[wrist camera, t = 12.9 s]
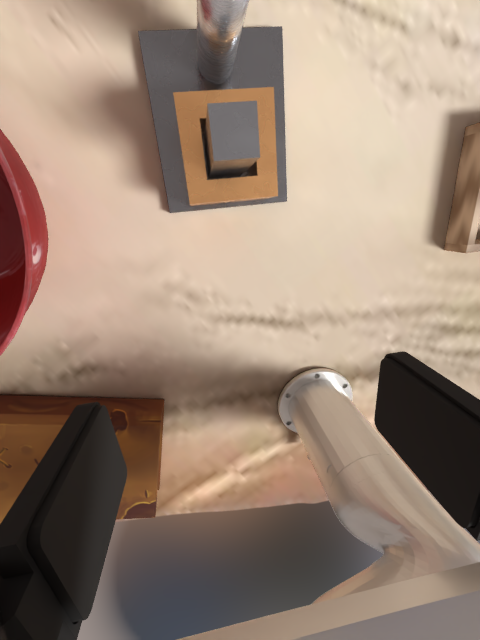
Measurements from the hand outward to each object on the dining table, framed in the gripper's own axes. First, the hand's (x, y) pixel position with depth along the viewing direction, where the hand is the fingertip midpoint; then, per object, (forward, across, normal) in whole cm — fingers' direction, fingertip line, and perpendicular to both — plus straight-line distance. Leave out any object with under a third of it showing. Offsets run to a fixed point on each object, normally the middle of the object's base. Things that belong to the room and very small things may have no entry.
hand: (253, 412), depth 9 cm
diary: (+29, +23, +25) cm, 45 cm away
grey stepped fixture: (+28, -3, -20) cm, 35 cm away
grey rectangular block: (+27, -3, -12) cm, 30 cm away
